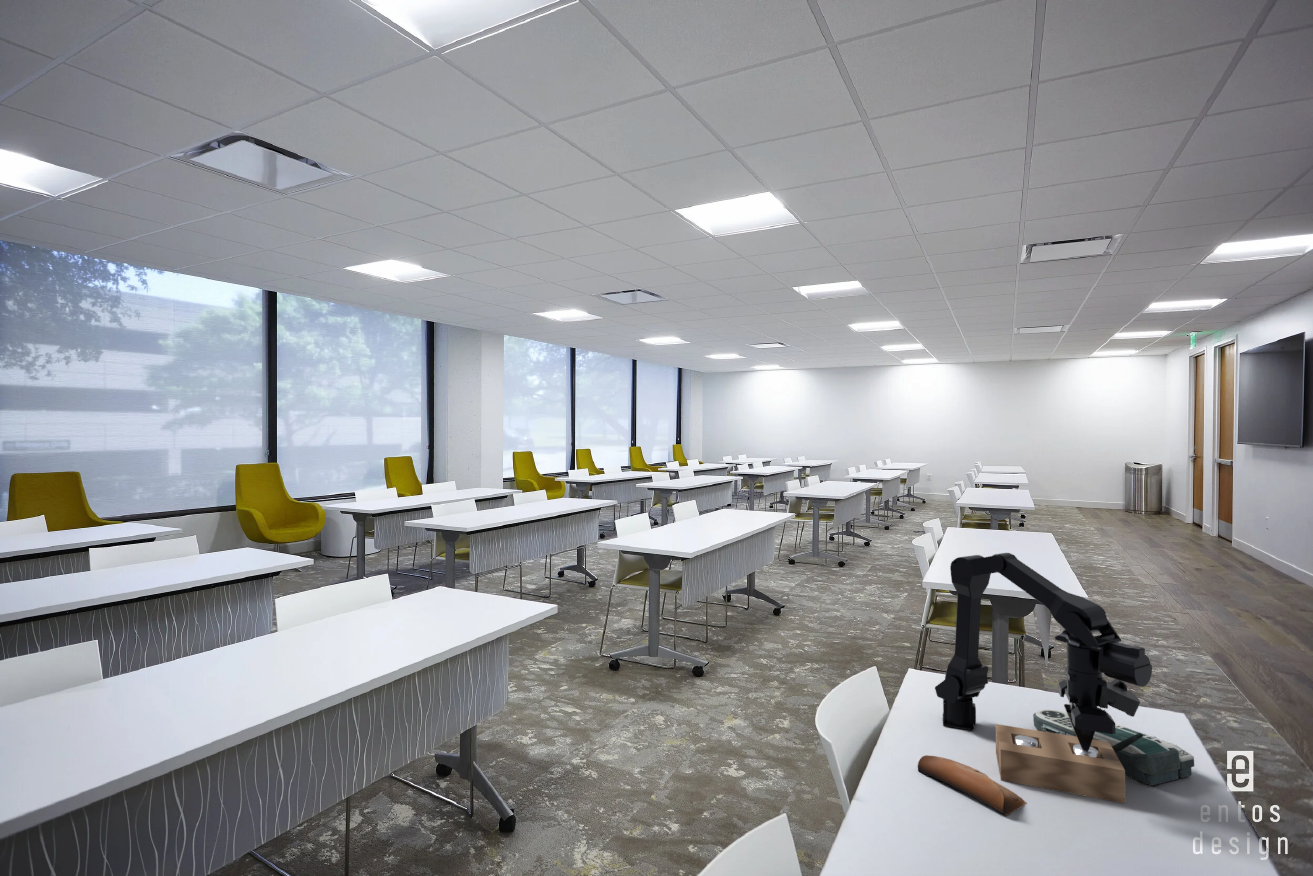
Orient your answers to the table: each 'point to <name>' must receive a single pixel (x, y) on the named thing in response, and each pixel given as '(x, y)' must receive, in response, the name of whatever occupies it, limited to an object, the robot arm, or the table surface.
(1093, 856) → the table surface
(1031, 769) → the pin block
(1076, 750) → the pin
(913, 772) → the table surface
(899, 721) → the table surface
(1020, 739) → the pin
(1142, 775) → the communication device
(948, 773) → the sunglasses case
